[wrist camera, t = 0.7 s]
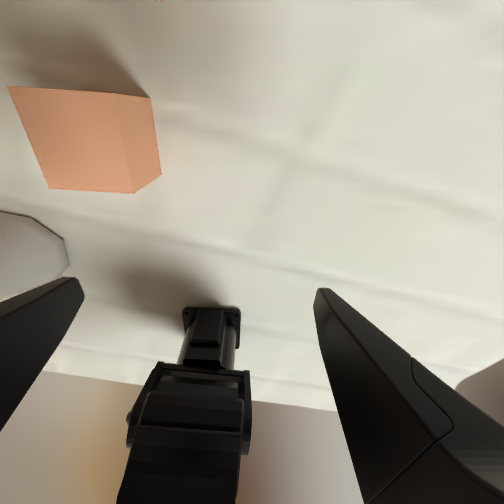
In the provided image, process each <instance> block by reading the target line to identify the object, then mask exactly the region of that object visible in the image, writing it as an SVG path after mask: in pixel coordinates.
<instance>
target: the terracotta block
mask: <svg viewBox="0 0 504 504" xmlns="http://www.w3.org/2000/svg"><path fill="white" fill-rule="evenodd" d="M7 87H8V90H9V92H10V95H11V97H12V100H13V102H14V104H15V107H16V109H17V112H18V114H19V117H20V119H21V121H22V124H23V126H24V129H25V131H26V134H27V136H28V138H29V141H30V143H31V146H32V148H33V150H34V153H35V155H36V158H37V160H38V163H39V165H40V167H41V170H42V172H43V175H44V177H45V180H46V182H47V184H48V187H49V189H62V190H79V191H96V192H113V193H131V194H134V193H136V192H137V191H138V190H140V189H141V188H143V187H144V186H146V185H147V184H149V183H150V182H152V181H153V180H155V179H156V178H158V177H159V176H160V175H162V173H161V166H160V159H159V152H158V146H157V139H156V132H155V125H154V118H153V112H152V105H151V98H144V97H137V96H130V95H122V94H115V93H104V92H89V91H75V90H61V89H46V88H32V87H18V86H7Z"/></svg>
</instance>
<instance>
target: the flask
mask: <svg viewBox="0 0 504 504" xmlns="http://www.w3.org/2000/svg"><path fill="white" fill-rule="evenodd" d="M68 266H69V263H68V258H67V254H66V250H65V246H64V241H63V240H62V239H61V238H59V237H58V236H56V235H55V234H53V233H52V232H50V231H49V230H48V229H46V228H45V227H43V226H42V225H40V224H39V223H37V222H36V221H35V220H33V219H32V218H28V217H23V216H18V215H13V214H8V213H3V212H0V299H3V298H5V297H8V296H11V295H13V294H16V293H19V292H22V291H25V290H28V289H31V288H34V287H37V286H40V285H43V284H46V283H48V282H51V281H54V280H56V279H57V278H58V277H59V276H60V274H61V273H62V272H63V271H64V270H65V269H66V268H67V267H68Z"/></svg>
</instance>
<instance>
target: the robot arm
mask: <svg viewBox="0 0 504 504" xmlns="http://www.w3.org/2000/svg"><path fill="white" fill-rule="evenodd" d="M83 301H84V292H83V290H82V287H81V285H80V283H79V280H78V279H77V278H75V277H61V278H59V279H56V280H54V281H51V282H49V283H47V284H44V285H42V286H39V287H37V288H34V289H32V290H29V291H27V292H24V293H22V294H20V295H17V296H15V297H12V298H10V299H7V300H5V301H2V302H0V431H1V430H2V428H3V427H4V425H5V424H6V422H7V421H8V419H9V418H10V416H11V415H12V414H13V412H14V411H15V409H16V407H17V406H18V405H19V403H20V402H21V400H22V399H23V397H24V396H25V394H26V393H27V391H28V390H29V388H30V387H31V385H32V384H33V382H34V381H35V379H36V377H37V376H38V375H39V373H40V372H41V370H42V369H43V367H44V366H45V365H46V363H47V362H48V360H49V359H50V357H51V356H52V354H53V353H54V351H55V350H56V348H57V347H58V345H59V344H60V342H61V341H62V339H63V337H64V336H65V334H66V332H67V330H68V329H69V327H70V325H71V323H72V321H73V319H74V317H75V316H76V314H77V312H78V310H79V308H80V306H81V304H82V303H83ZM313 310H314V316H315V322H316V328H317V334H318V340H319V346H320V350H321V354H322V357H323V361H324V364H325V368H326V371H327V375H328V378H329V382H330V385H331V389H332V392H333V396H334V400H335V403H336V407H337V410H338V413H339V417H340V420H341V424H342V428H343V431H344V435H345V438H346V442H347V445H348V449H349V452H350V456H351V459H352V463H353V466H354V470H355V473H356V477H357V480H358V484H359V487H360V491H361V494H362V498H363V501H364V504H504V426H502V425H501V424H500V423H498V422H497V421H496V420H494V419H493V418H491V417H490V416H489V415H487V414H486V413H485V412H483V411H482V410H481V409H479V408H478V407H477V406H475V405H474V404H472V403H471V402H470V401H468V400H467V399H466V398H464V397H463V396H462V395H460V394H459V393H458V392H456V391H455V390H454V389H452V388H451V387H450V386H448V385H447V384H446V383H444V382H443V381H442V380H441V379H439V378H438V377H437V376H436V375H434V374H433V373H432V372H431V371H429V370H428V369H427V368H426V367H424V366H423V365H422V364H421V363H420V362H418V361H417V360H416V359H415V358H413V357H411V355H410V354H409V353H407V352H406V351H405V350H404V349H402V348H401V347H400V346H399V345H398V344H396V343H395V342H394V341H393V340H392V339H390V338H389V337H388V336H387V335H385V334H384V333H383V332H382V331H381V330H379V329H378V328H377V327H376V326H375V325H373V324H372V323H371V322H370V321H369V320H367V319H366V318H365V317H364V316H362V315H361V314H360V313H359V312H358V311H356V310H355V309H354V308H353V307H352V306H350V305H349V304H348V303H347V302H346V301H344V300H343V299H342V298H341V297H339V296H338V295H337V294H336V293H335V292H333V291H332V290H331V289H329V288H318V290H317V292H316V296H315V300H314V305H313ZM182 316H183V323H184V329H185V338H184V341H183V345H182V348H181V351H180V354H179V358H178V361H177V364H171V363H164V362H161V361H158V362H157V364H156V366H155V368H154V369H153V370H152V372H151V374H150V375H149V377H148V379H147V381H146V383H145V385H144V387H143V389H142V391H141V393H140V394H139V396H138V398H137V400H136V402H135V404H134V406H133V407H132V409H131V410H130V411H129V413H128V415H127V418H126V421H127V424H128V426H129V427H128V433H127V440H126V445H127V448H131V450H130V454H129V458H128V462H127V466H126V470H125V474H124V477H123V480H122V483H121V487H120V490H119V493H118V496H117V502H116V504H235V498H236V496H237V491H238V480H239V469H240V457H241V456H245V457H246V456H247V455H248V452H249V447H250V439H251V427H252V405H251V387H250V371H249V370H244V371H239V370H234V359H235V349H238V348H239V344H240V322H241V312H240V311H239V310H234V309H212V308H190V307H186V308H184V309H183V311H182Z"/></svg>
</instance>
